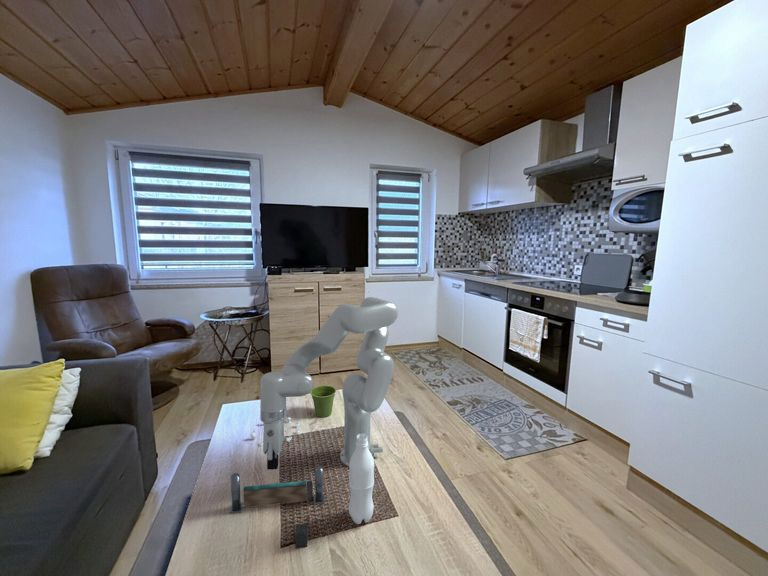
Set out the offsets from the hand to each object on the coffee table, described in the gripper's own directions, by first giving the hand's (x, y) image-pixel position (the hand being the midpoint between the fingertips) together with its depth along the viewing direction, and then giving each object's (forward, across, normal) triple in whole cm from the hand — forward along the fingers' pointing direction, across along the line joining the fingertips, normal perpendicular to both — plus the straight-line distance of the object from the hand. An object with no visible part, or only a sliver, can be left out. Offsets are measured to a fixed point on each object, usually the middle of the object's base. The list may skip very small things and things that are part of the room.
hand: (272, 467), depth 103 cm
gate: (+7, -6, -3) cm, 10 cm away
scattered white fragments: (+8, +33, +4) cm, 34 cm away
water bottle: (+7, -14, -27) cm, 31 cm away
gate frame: (+8, -13, -3) cm, 15 cm away
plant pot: (+7, +46, -15) cm, 49 cm away
